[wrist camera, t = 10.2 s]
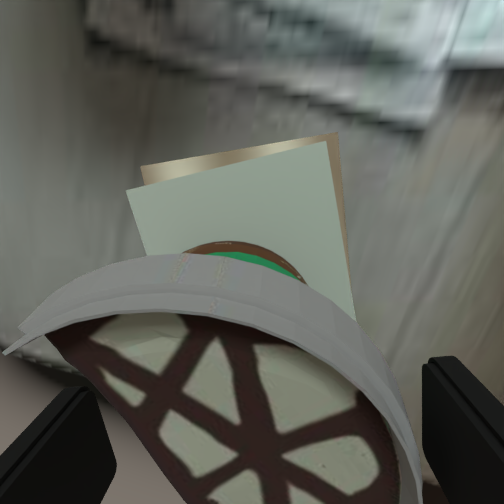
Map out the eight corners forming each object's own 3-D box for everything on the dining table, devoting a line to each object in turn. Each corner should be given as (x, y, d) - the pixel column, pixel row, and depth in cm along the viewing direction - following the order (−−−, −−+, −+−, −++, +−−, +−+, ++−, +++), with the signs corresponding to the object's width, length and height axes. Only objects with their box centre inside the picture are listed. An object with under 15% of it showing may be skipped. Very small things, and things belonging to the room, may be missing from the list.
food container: (382, 352, 17) (544, 590, 7) (288, 405, 18) (321, 677, 8) (252, 163, 15) (235, 138, 5) (154, 235, 16) (-19, 332, 6)
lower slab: (325, 138, 22) (337, 131, 18) (344, 339, 26) (358, 369, 22) (161, 167, 23) (140, 166, 19) (204, 356, 27) (193, 387, 23)
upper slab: (313, 147, 18) (325, 140, 14) (349, 352, 21) (368, 392, 18) (154, 186, 19) (125, 190, 15) (212, 377, 22) (201, 419, 19)
